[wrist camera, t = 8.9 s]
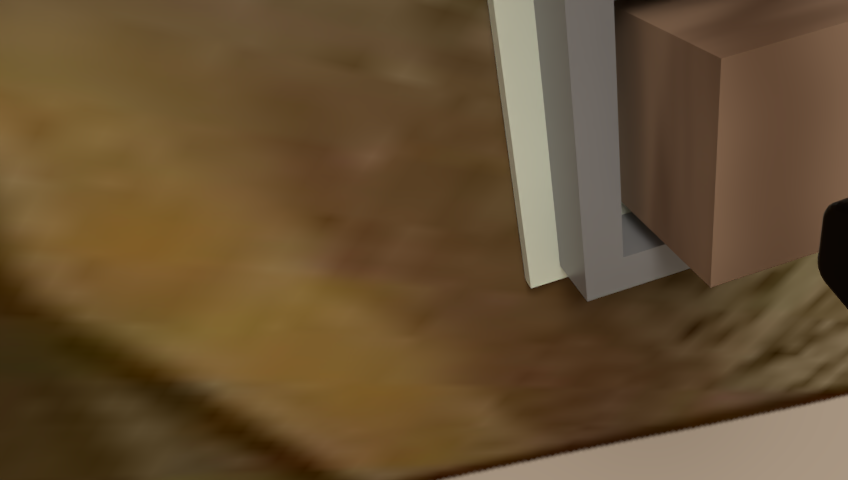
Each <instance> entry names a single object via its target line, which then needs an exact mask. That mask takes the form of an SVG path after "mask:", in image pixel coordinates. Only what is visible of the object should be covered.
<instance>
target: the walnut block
mask: <svg viewBox="0 0 848 480" xmlns="http://www.w3.org/2000/svg"><path fill="white" fill-rule="evenodd" d="M614 20H615V47H616V74H617V101H618V128H619V156H620V183H621V202H622V203H623V204H624V205H625V206H626V207H627V208H628V209H629V210H630V211H631V212H633V213H634V214H635V215H636V216H637V217H638V218H639V219H640V220H641V221H642V222H643V223H644V224H645V225H646V226H647V227H648V228H649V229H650V230H651V231H652V232H653V233H654V234H655V235H656V236H657V237H658V238H660V239H661V240H662V241H663V242H664V243H665V244H666V245H667V246H668V247H669V248H670V249H671V250H672V251H673V252H674V253H675V254H676V255H677V256H678V257H679V258H680V259H681V260H682V261H683V262H684V263H685V264H687V265H688V266H689V267H690V268H691V269H692V270H693V271H694V272H695V273H696V274H697V275H698V276H699V277H700V278H701V279H702V280H703V281H704V282H705V283H706V284H707V285H708V286H709V287H710V288H711V287H714V286H717V285H720V284H723V283H726V282H729V281H732V280H735V279H738V278H741V277H744V276H747V275H750V274H753V273H756V272H759V271H762V270H765V269H768V268H772V267H775V266H778V265H781V264H784V263H787V262H790V261H793V260H796V259H799V258H802V257H805V256H808V255H811V254H814V253H817V252H819V245H820V237H821V228H822V220H823V215H824V212H825V210H826V209H827V207H828V206H829V205H830V204H832V203H834V202H837V201H839V200H842V199H845V198H848V0H616V1H614Z"/></svg>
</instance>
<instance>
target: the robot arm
mask: <svg viewBox="0 0 848 480" xmlns="http://www.w3.org/2000/svg"><path fill="white" fill-rule="evenodd" d="M818 268H819V271H820V274H821V276H822V278H823V280H824V281H825V283H826V284H827V285H828V286H829V287H830V289H831V290H832V291H833V292H834V293H835V295H836V296H837V297H838V298H839V299H840V301H841V302H842V303H843V304H844V305H845V306H846V308H847V309H848V198H845V199H842V200H839V201H837V202H834V203H832V204H830V205H829V206H828V207H827V209H826V210H825V212H824V215H823V220H822V228H821V237H820V245H819V253H818Z"/></svg>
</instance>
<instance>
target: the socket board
mask: <svg viewBox="0 0 848 480" xmlns="http://www.w3.org/2000/svg"><path fill="white" fill-rule="evenodd" d="M487 1H488V8H489V15H490V23H491V30H492V37H493V45H494V52H495V59H496V67H497V74H498V81H499V89H500V96H501V104H502V111H503V118H504V126H505V133H506V140H507V148H508V155H509V162H510V170H511V177H512V184H513V192H514V199H515V206H516V214H517V221H518V229H519V236H520V243H521V251H522V258H523V265H524V273H525V280H526V281H527V283H528V285H529V286H530V288H534V287H537V286H541V285H544V284H547V283H550V282H553V281H556V280H559V279H563V278H566V277H569V278H570V279H571V281H572V282H573V283H574V285H575V286H576V287H577V289H578V290H579V291H580V293H581V294H582V295H583V297H584V298H585V299H586V301H591V300H594V299H597V298H600V297H603V296H606V295H609V294H612V293H615V292H618V291H622V290H625V289H628V288H631V287H634V286H637V285H640V284H643V283H646V282H649V281H652V280H656V279H659V278H662V277H665V276H668V275H671V274H674V273H677V272H680V271H683V270H687V269H690V267H689V266H688V265H687V264H685V263H684V262H683V261H682V260H681V259H680V258H679V257H678V256H677V255H676V254H675V253H674V252H673V251H672V250H671V249H670V248H669V247H668V246H667V245H666V244H665V243H664V242H663V241H662V240H661V239H660V238H658V237H657V236H656V235H655V234H654V233H653V232H652V231H651V230H650V229H649V228H648V227H647V226H646V225H645V224H644V223H643V222H642V221H641V220H640V219H639V218H638V217H637V216H636V215H635V214H634V213H633V212H631V211H630V210H629V209H628V208H627V207H626V206H625V205H624V204H623V203H622V202H621V183H620V156H619V128H618V101H617V74H616V47H615V20H614V1H616V0H487Z"/></svg>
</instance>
